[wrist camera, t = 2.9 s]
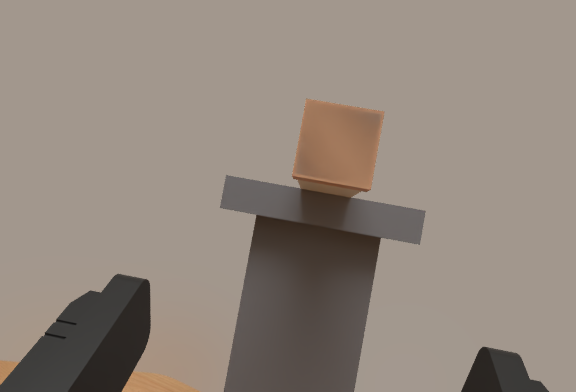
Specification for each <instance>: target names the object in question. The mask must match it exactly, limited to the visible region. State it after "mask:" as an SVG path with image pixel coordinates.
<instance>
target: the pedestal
mask: <svg viewBox="0 0 576 392" xmlns="http://www.w3.org/2000/svg"><path fill="white" fill-rule="evenodd" d="M220 208H223V209H229V210H234V211H240V212H245V213H250V214H256V221H255V227H254V231H253V237H252V242H251V248H250V253H249V258H248V264H247V269H246V275H245V280H244V285H243V291H242V296H241V302H240V307H239V313H238V318H237V324H236V328H235V334H234V339H233V345H232V350H231V355H230V361H229V366H228V372H227V377H226V382H225V388H224V392H354V388H355V383H356V377H357V371H358V365H359V360H360V354H361V348H362V343H363V337H364V331H365V325H366V319H367V314H368V308H369V302H370V297H371V291H372V285H373V279H374V273H375V268H376V262H377V257H378V251H379V245H380V239H381V238H386V239H393V240H398V241H403V242H408V243H414V244H420V240H421V235H422V228H423V223H424V217H425V211H423V210H417V209H412V208H406V207H401V206H395V205H389V204H384V203H378V202H373V201H367V200H361V199H356V198H350V197H345V196H339V195H334V194H328V193H322V192H317V191H311V190H306V189H300V188H294V187H289V186H282V185H278V184H272V183H267V182H260V181H255V180H250V179H244V178H239V177H233V176H228V175H226V179H225V184H224V190H223V195H222V200H221V206H220Z"/></svg>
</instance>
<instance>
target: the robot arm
mask: <svg viewBox="0 0 576 392" xmlns="http://www.w3.org/2000/svg"><path fill="white" fill-rule="evenodd" d="M149 334H150V283H149V281H148V280H147V279H142V278H137V277H131V276H126V275H121V274H117V275H115V276H114V277H113V278H112V279H111V281H110V282H109V283H108V285H107V286H106V287H105V288H104V290H103V291H102V292H101V293H100V292H95V291H89V292H88V293H86V294H84V295H82V296H81V297H79V298H78V299H76V300H74V301H73V302H71V303H70V304H69V305H68V306H67V307H66V309H65V310H64V311H63V312H62V313H61V315H60V316H59V317H58V318H57V320H56V322H55V323H53V324H52V325H51V326H50V328H49V329H48V330H47V331H46V332H45V335H44V337H43V336H42V337H41V338H40V339H39V340H38V342H37V343H36V344H35V345H34V346H33V348H32V349H31V350H30V351H29V352H28V353H27V355H26V356H25V357H24V358H23V359H22V360H21V362H20V363H19V364H18V365H17V366H16V367H15V369H14V370H13V371H12V372H11V373H10V375H9V376H8V377H7V378H6V379H5V380H4V382H3V383H2V384H1V385H0V392H122V390H123V388H124V386H125V385H126V383H127V381H128V379H129V377H130V376H131V374H132V372H133V370H134V368H135V366H136V365H137V363H138V361H139V359H140V358H141V356H142V354H143V352H144V350H145V348H146V345H147V342H148V338H149ZM461 392H549V391H548V390H547V389H546V388H545V386H544V385H543V384H542V383H541V382H539V381H534V380H530V379H529V376H528V374H527V371H526V368H525V366H524V363H523V361H522V359H521V357H520V356H519V355H518V354H517V353H513V352H508V351H503V350H498V349H493V348H488V347H482V348H481V349H480V350H479V352H478V354H477V356H476V359H475V361H474V363H473V366H472V368H471V370H470V373H469V375H468V377H467V380H466V382H465V384H464V386H463V389H462V391H461Z"/></svg>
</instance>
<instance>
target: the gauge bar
mask: <svg viewBox="0 0 576 392" xmlns="http://www.w3.org/2000/svg"><path fill="white" fill-rule="evenodd" d="M383 117H384V112H383V111H377V110H371V109H365V108H359V107H353V106H347V105H341V104H335V103H329V102H323V101H317V100H311V99H306V103H305V108H304V114H303V119H302V125H301V131H300V136H299V141H298V147H297V152H296V157H295V163H294V168H293V174H292V177H293V179H296V180H298V182H299V185H300V188H301V189H306V190H311V191H317V192H322V193H328V194H334V195H339V196H345V197H350V198H351V197H353V196H354V195H356V194H357V193H359V192H361V191H364V192H367V191H369V190H371V185H372V180H373V174H374V168H375V162H376V157H377V151H378V145H379V140H380V134H381V128H382V123H383Z"/></svg>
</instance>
